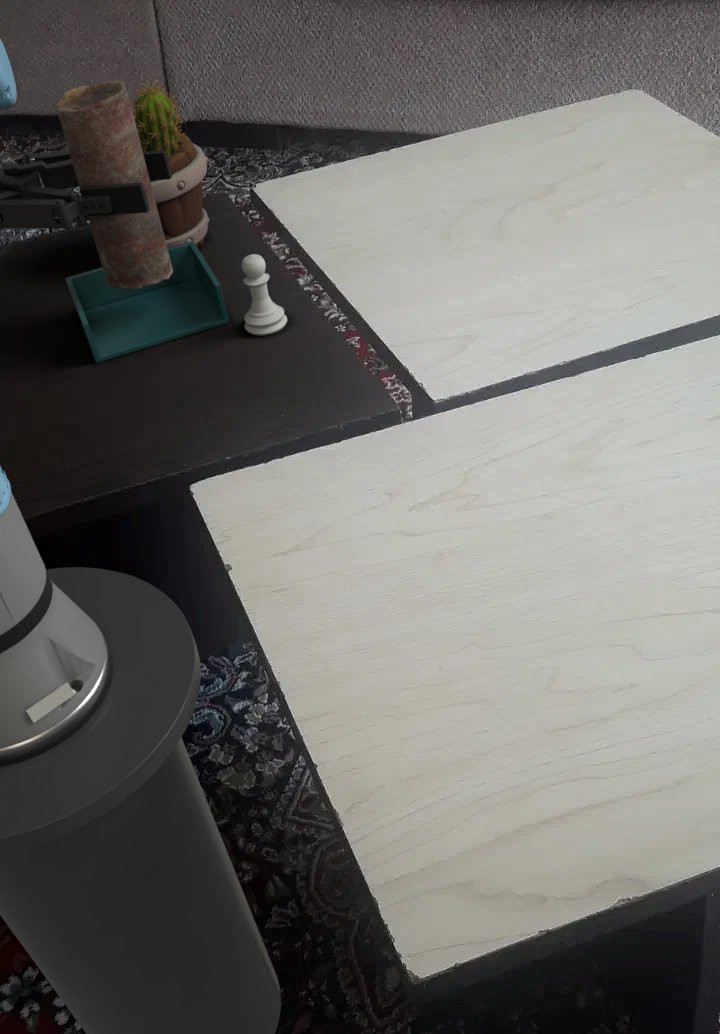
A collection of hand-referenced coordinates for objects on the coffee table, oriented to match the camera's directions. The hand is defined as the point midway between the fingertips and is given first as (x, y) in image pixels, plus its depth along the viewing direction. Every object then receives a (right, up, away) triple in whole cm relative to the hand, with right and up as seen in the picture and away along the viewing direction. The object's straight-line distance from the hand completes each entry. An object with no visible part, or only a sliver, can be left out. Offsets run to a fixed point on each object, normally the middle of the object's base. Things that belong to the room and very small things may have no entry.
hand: (156, 180), depth 108 cm
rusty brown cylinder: (-3, -8, +9) cm, 12 cm away
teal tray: (-3, -9, +13) cm, 17 cm away
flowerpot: (-4, +2, +25) cm, 25 cm away
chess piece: (+11, -13, +7) cm, 18 cm away
